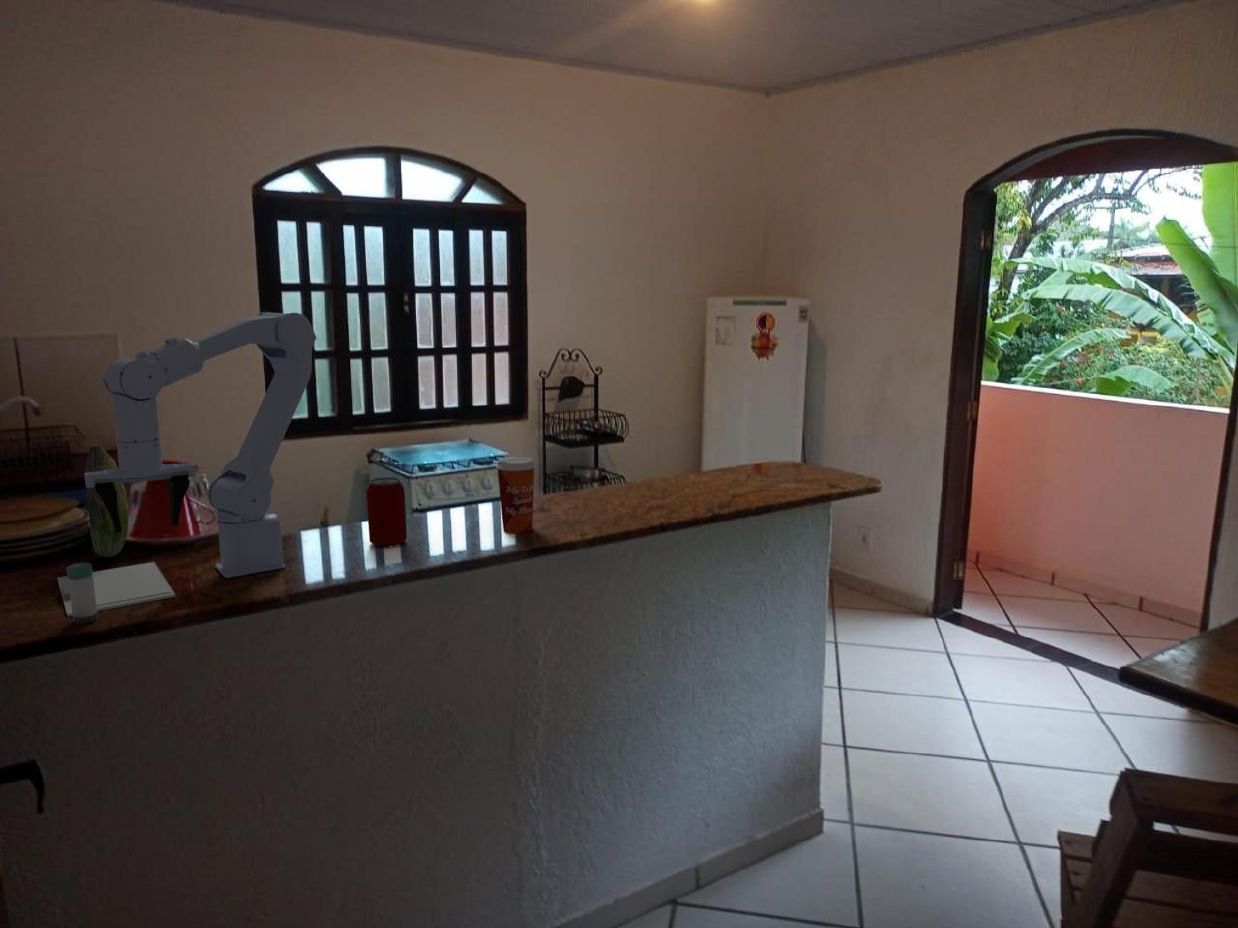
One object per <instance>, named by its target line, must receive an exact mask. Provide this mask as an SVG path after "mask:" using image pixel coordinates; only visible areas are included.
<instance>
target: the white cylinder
mask: <svg viewBox="0 0 1238 928" xmlns="http://www.w3.org/2000/svg"><path fill="white" fill-rule="evenodd" d="M93 572H94V571H93V566H92V563H91V562H79V563H74V564H70V565H68V566H66V574H67V575H66V576H68V584H69V591H70V599H71V606H72V614H73V616H72V619H73V621H72V622H73V624H75V625H84V624H89V623H93V622H95V621H98V619H99V615H98V613H99V611H97V604H96V596H95V588H94V580H93Z"/></svg>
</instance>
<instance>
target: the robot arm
mask: <svg viewBox="0 0 1238 928" xmlns="http://www.w3.org/2000/svg"><path fill="white" fill-rule="evenodd" d="M316 340H317V335H316V333H315V331H314V329H313V326H312V324H311V322H310V320H309V319H308V318H307V316H305V315H303V314H302V313H299V312H289V313H288V312H287V313H284V312H282V313H281V312H272V311H271V312H269V311H263V312H260V313H258V314H255V315H250V316H246V317H243V318H242V319H240V320H238V321H235V322H233V323H231V324H228V325H227V326H225V327H222V328H220V329H218V330H216V331H214V332H211V333H209V334H207V335H205V336H203V337H201V338H198V339H196V340H195V341H191V340H189V339H188V338H184V337H180V338H177V337H173V336H171V337H168V338H166V339H164V343H165V344H162V345H160V346H157V347H155V348H152V349H149V350H147V351H145V350H138V351H137V352H135V357H134V359H132V358H131V359H130V358H129V359H127V358H122V359H117V360H116V361H113V362H112V363H110V364H109V367H107V369H106V371H105V373H104V375H105V377H103V378H102V384H103V386H104V388H105V389H106V391H108V393H109V394H111V397H112V407H113V408H112V409H113V411H112V413H113V420H114V431H115V440H116V448H117V460H118V461H117V462H118V467H117V468H118V469H111V470H104V471H97V472H89V473H85V472H84V473H83V475H84V482H85V488H86V487H87V488H90V487H94V488H95V490H96V491H97V493H98V494H99V496H100V497H101V499H102V500H103V502H104V504H105V506H106V508H107V510H108V512H109V514H110V517H111V519H112V522H113V526H114V531H115V532H116V533H121V524H120V519H119V514H118V502H117V491H116V489H115V486H114V484H121V483H123V484H129V483H130V484H131V483H138V482H139V483H141V482H152V481H159V480H166V482H167V488H168V489H167V490H168V496H169V515H170V516H169V517H170V524H171V525H172V526H173V527H176V526H179V519H180V512H181V508H182V505H183V503H184V502H183V501H184V499H185V496H186V494H187V492H188V490H189V487H190V484H191V482H190V479H191V478H196V477H197V471H196V464H194V463H193V462H189V463H172V464H171V463H169V464H163V456H162V446H161V445H162V444H161V437H160V425H159V415H158V405H157V396H158V395H159V394H160V392H161V391H162V389H163V388H166V387H168V386H170V385H172V384H175V383H177V382H179V381H181V380H184V379H186V378H188V377H191V376H193V375H195V374H197V373H200V372H201V371H202V370H203V367H204V364H205V361H207V360H210V359H213V358H215V357H218V356H221V355H223V354H225V353H229V352H231V351H233V350H236V349H239V348H241V347H245V346H247V345H250V344H251V345H256V347H257V348H258V349H259V350H260V351H261V353H262V354H263V355H264V356H265V357H266V358H267V359H268V360H269V362H270V364H271V366H272V368H273V371H274V375H273V377H272V379H271V381H270V383H269V385H268V388H267V390H266V392H265V394H264V396H263V399H262V401H261V403H260V405H259V407H258V410H257V412H256V414H255V417H254V419H253V421H252V423H251V425H250V428H249V430H248V431H247V434H246V436H245V438H244V441H243V443H242V445H241V447H240V449H239V452H238V454H237V456H236V457H234V458H233V459H232V460H230V461H229V462H227V463H226V464H225V465H224V466H223V469H222V471H221V472H220V474H218V476H217V477H216V478H214V479H213V480H212V481H211V483H210V484H209V486H208V489H207V492H206V493H207V494H206V495H207V500H208V503H209V504H210V506H211V507H212V508H213V509H215V510H216V519H217V520H216V521H217V530H218V540H219V541H218V542H219V552H220V562H217V563H216V564H215V565H214V566H215V568H216V569H217V570H218V572H219V573H220V574H222V576H223V577H224V578H225V579H231V578H235V577H241V576H246V575H251V574H258V573H262V572H269V571H274V570H279V569H280V570H281V569H285V568H286V564H285V560H284V558H285V557H284V550H283V534H282V527H281V523H280V519H279V517H278V515H277V514H276V513H274V512H273V513H271V512H270V513H266V512H267V511H268V510H269V508H270V506H271V502H272V488H273V486H274V483H275V478H274V476H273V473H272V471H271V467H272V465H273V462H274V461H275V457H276V456H277V453H278V451H279V449H280V447H281V445H282V443H283V442H282V441H283V440H284V437H285V435H286V434H287V433H286V432H287V430H288V428H289V426H290V424H291V422H292V419H293V417H294V416H295V413H296V411H297V408H298V406H299V404H300V402H301V400H302V397H303V396H304V395H303V394H304V392H305V390H306V387H307V386H308V383H309V381H310V379H311V376H312V371H313V370H312V369H313V366H312V364H313V363H312V362H313V359H312V358H313V356H312V355H313V354H312V353H313V346H314V345H315V343H316Z"/></svg>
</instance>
